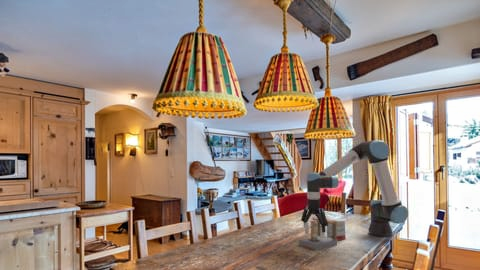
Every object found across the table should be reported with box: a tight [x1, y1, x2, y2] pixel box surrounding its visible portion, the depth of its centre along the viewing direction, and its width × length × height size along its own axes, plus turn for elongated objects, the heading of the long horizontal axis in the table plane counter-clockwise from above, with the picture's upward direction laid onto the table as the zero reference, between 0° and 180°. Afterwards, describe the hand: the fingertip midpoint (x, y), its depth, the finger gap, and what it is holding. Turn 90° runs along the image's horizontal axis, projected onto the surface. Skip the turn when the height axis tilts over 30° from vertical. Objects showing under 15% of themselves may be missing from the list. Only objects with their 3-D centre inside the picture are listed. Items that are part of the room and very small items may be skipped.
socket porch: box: [298, 216, 338, 251], centre depth 183 cm, size 18×14×14 cm
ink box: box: [326, 218, 346, 241], centre depth 198 cm, size 9×9×12 cm
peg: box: [309, 220, 318, 242], centre depth 182 cm, size 4×4×14 cm
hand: (314, 235), depth 182 cm, fingers open, 11 cm apart
